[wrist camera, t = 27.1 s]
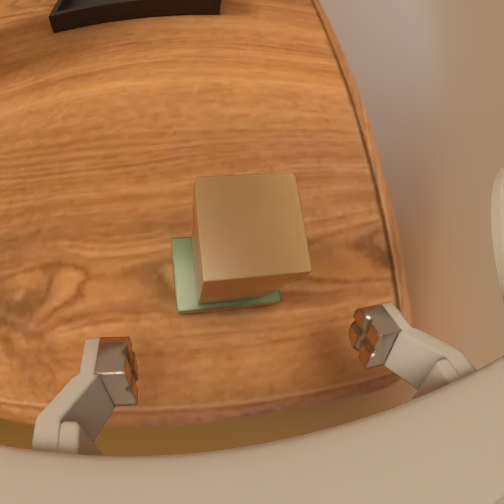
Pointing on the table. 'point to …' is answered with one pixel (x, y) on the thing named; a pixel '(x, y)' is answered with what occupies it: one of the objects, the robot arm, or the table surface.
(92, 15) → the black tray
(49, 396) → the table surface
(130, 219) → the table surface
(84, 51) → the table surface
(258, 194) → the scrub brush
